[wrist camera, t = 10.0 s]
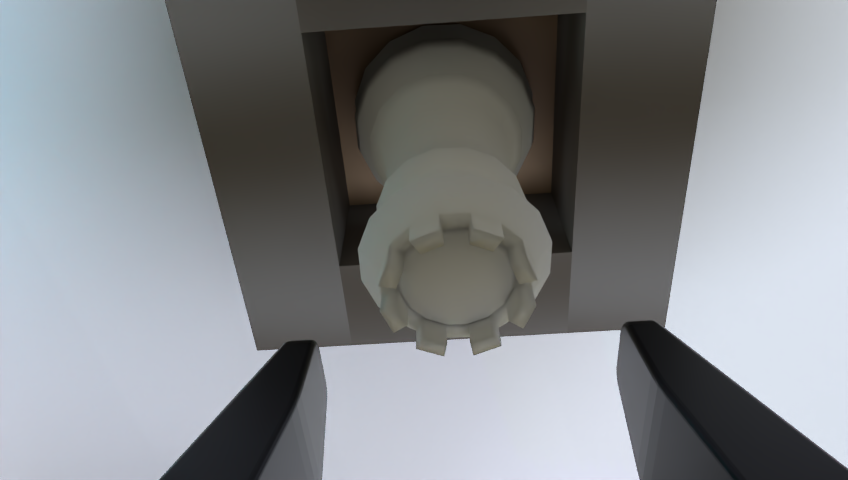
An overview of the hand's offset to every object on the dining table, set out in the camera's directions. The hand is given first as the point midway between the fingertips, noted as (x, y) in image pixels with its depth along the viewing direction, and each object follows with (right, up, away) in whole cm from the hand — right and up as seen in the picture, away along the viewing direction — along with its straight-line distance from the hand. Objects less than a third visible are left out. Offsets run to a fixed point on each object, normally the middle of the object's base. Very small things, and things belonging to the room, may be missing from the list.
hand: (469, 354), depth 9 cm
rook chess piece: (0, +5, +8) cm, 10 cm away
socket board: (0, +6, +9) cm, 11 cm away
